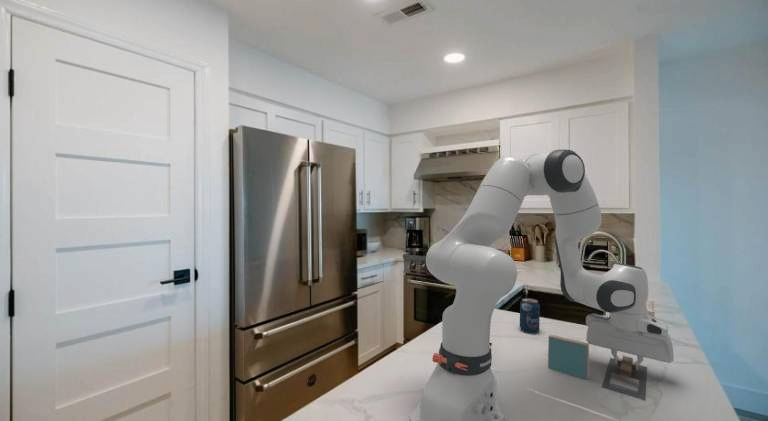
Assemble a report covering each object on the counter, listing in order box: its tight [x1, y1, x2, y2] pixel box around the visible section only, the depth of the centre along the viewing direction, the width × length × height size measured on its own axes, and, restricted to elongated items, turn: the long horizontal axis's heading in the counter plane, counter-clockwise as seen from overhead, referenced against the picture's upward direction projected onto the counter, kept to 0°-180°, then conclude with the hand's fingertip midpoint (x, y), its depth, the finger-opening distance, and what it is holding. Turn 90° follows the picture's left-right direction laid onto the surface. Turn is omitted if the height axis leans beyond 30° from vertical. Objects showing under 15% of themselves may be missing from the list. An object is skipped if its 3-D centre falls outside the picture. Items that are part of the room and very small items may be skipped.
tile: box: [547, 334, 590, 380], centre depth 94 cm, size 2×10×10 cm, turn 50°
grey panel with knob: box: [609, 355, 639, 394], centre depth 92 cm, size 18×6×2 cm, turn 140°
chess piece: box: [647, 298, 658, 319], centre depth 137 cm, size 5×5×10 cm
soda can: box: [519, 297, 541, 335], centre depth 126 cm, size 7×7×12 cm
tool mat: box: [601, 357, 648, 401], centre depth 92 cm, size 22×9×1 cm, turn 140°
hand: (626, 367), depth 95 cm, fingers closed on grey panel with knob, 2 cm apart
